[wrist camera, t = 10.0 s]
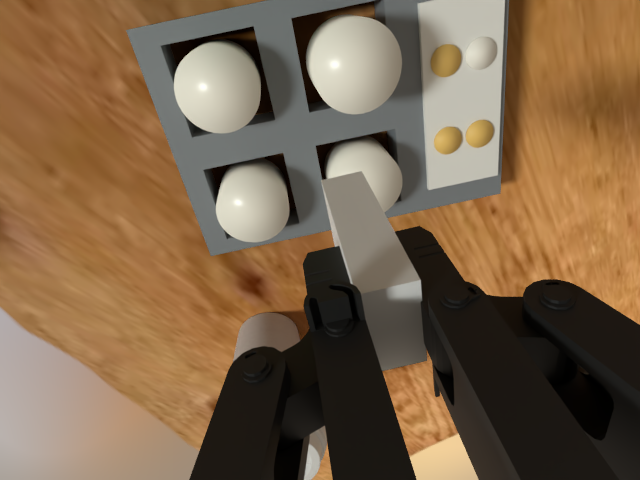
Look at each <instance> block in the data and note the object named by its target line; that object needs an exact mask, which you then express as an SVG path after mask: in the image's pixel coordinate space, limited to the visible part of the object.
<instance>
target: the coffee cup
mask: <svg viewBox="0 0 640 480" xmlns="http://www.w3.org/2000/svg"><path fill="white" fill-rule="evenodd" d="M299 341H300V338H299V333H298V329H297V327H296V325H295V323H294V322H293V321H292V320H291V319H290V318H288V317H286V316H284V315H282V314H278V313H261V314H257V315H255V316H253V317H251V318H249V319H248V320H247V321H245V322H244V323H243V325H242V326H241V328H240V330H239V334H238V339H237V344H236V349H235V354H234V359H233V362H234V360H236V359H237V358H238V357H239V356H240V355H241V354H242V353H244V352H246V351H248V350H250V349H252V348H256V347H261V346H267V347H274V348H275V349H277V350H279V351H281V352H282V351H284V350H286V349H288V348H290V347H292V346H293V345H295V344H297V343H298V342H299ZM326 446H327V437H326V430H325V426H323V427H322V428H320V429H318V430H317V431H315V432H313V433H311V434H310V440H309V447H308V454H307V462H306V469H305V476H304V480H311V479H312V478H313V477H314V476H315V475H316V473H317V472H318V470H319V467H320V462H321V460H322V458H323V456H324V453H325V450H326Z"/></svg>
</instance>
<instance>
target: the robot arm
mask: <svg viewBox="0 0 640 480" xmlns="http://www.w3.org/2000/svg"><path fill="white" fill-rule="evenodd" d="M321 182H322V187H323V192H324V196H325V201H326V206H327V211H328V216H329V220H330V225H331V230H332V235H333V240H334V244H335V247H332V248H327V249H323V250H319V251H314V252H310V253H308V254H307V256H306V258H305V260H304V262H303V269H304V275H305V282H306V288H307V296H306V297H305V300H304V310H305V313H306V317H307V320H308V324H309V327H310V329H309V331H308V332H307V334H306V335H305V337H304V338H303V339H302V340H301V341H299V342H298V343H297V344H295V345H293V346H292V347H290V348H288V349H286V350H284V351H282V352H281V351H279V350H277V349H275V348H274V347H267V346H261V347H256V348H252V349H250V350H248V351H246V352H244V353H242V354H241V355H240V356H239V357H238V358H237V359H236V360H234V362H233V364H232V365H231V367H230V369H229V371H228V373H227V376H226V379H225V382H224V385H223V387H222V390H221V393H220V396H219V398H218V401H217V404H216V407H215V410H214V412H213V415H212V418H211V421H210V424H209V426H208V429H207V432H206V435H205V437H204V440H203V443H202V446H201V449H200V451H199V454H198V457H197V460H196V463H195V465H194V468H193V471H192V474H191V477H190V479H189V480H304V476H305V469H306V462H307V454H308V447H309V440H310V434H311V433H313V432H315V431H317V430H318V429H320V428H322V427H323V426H325V430H326V437H327V443H328V450H329V457H330V463H331V470H332V477H333V480H416V476H415V473H414V470H413V467H412V464H411V461H410V457H409V454H408V451H407V448H406V445H405V442H404V439H403V435H402V432H401V429H400V426H399V423H398V420H397V417H396V413H395V410H394V407H393V404H392V401H391V398H390V395H389V391H388V388H387V385H386V382H385V379H384V376H383V373H382V371H384V370H389V369H393V368H397V367H402V366H406V365H410V364H415V363H419V362H423V361H427V353H426V349H427V351H428V353H429V355H430V357H431V360H432V364H433V379H434V391H435V396H436V397H438V396H440V392H441V394H442V396H443V399H444V401H445V403H446V406H447V408H448V410H449V412H450V415H451V417H452V419H453V422H454V424H455V426H456V428H457V431H458V433H459V435H460V438H461V440H462V442H463V444H464V447H465V449H466V451H467V454H468V456H469V458H470V460H471V463H472V465H473V467H474V470H475V472H476V474H477V476H478V479H479V480H640V325H639V324H637V323H636V322H634V321H633V320H631V319H629V318H628V317H626V316H625V315H623V314H621V313H620V312H618V311H617V310H615V309H614V308H612V307H610V306H609V305H607V304H606V303H604V302H603V301H601V300H599V299H598V298H596V297H595V296H593V295H592V294H590V293H588V292H587V291H585V290H584V289H582V288H580V287H578V286H576V285H574V284H572V283H570V282H566V281H561V280H541V281H537V282H533V283H532V284H531V285H529V286H528V287H526V289H525V292H524V294H523V297H498V296H490V295H486V294H485V293H484V292H483V291H482V290H481V289H480V288H479V287H478V286H476V285H474V284H472V283H469V282H465V281H464V279H463V278H462V277H461V275H460V274H459V272H458V271H457V269H456V268H455V266H454V265H453V263H452V262H451V260H450V259H449V258H448V256H447V255H446V253H444V250H443V249H442V247H441V246H440V245H439V244H438V242H437V240H436V239H435V237H434V236H433V234H432V233H431V232H429V231H427V230H425V229H423V228H422V227H420V226H418V227H413V228H409V229H405V230H400V231H396V232H394V230H393V228H392V226H391V224H390V222H389V221H388V219H387V217H386V215H385V213H384V211H383V209H382V208H381V206H380V204H379V202H378V200H377V198H376V197H375V195H374V193H373V191H372V189H371V187H370V185H369V184H368V182H367V180H366V178H365V176H364V174H363V172H362V171H359V172H355V173H351V174H346V175H342V176H337V177H333V178H329V179H324V180H321Z"/></svg>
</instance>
